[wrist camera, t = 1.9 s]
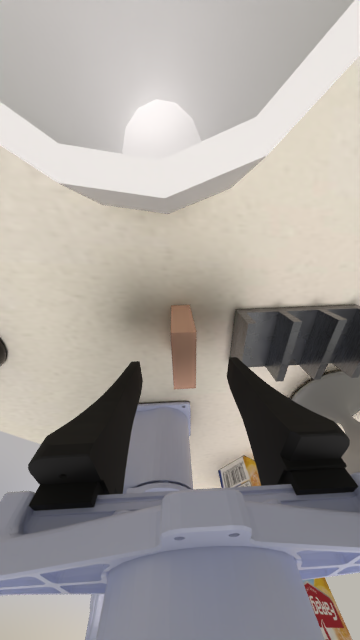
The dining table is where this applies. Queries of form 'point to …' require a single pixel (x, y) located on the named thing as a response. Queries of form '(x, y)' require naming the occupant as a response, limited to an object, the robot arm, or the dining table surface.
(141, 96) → the foam cup
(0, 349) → the supplement bottle
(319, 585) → the beverage box
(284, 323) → the dish rack
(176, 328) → the tan wooden block
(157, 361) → the dining table surface
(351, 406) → the chalice
